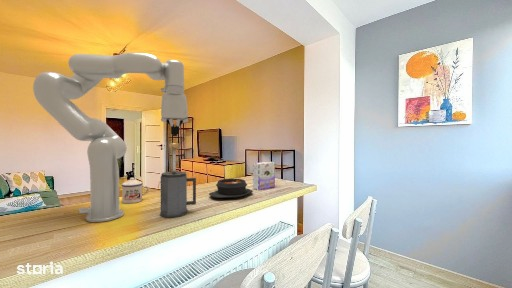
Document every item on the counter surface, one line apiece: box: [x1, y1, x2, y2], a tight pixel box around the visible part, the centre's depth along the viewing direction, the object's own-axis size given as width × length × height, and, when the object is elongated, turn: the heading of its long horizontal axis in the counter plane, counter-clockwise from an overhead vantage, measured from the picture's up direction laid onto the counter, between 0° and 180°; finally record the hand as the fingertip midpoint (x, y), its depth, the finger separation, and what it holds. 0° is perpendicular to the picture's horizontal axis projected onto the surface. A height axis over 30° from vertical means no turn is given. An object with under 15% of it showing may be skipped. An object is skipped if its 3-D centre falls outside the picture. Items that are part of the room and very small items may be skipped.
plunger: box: [169, 142, 180, 174], centre depth 95 cm, size 8×8×20 cm
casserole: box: [208, 178, 254, 199], centre depth 125 cm, size 25×19×8 cm
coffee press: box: [159, 170, 197, 219], centre depth 96 cm, size 14×11×17 cm
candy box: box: [252, 161, 276, 191], centre depth 144 cm, size 14×6×16 cm, turn 128°
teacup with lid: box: [121, 177, 150, 204], centre depth 113 cm, size 12×9×12 cm
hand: (175, 136), depth 95 cm, fingers closed
